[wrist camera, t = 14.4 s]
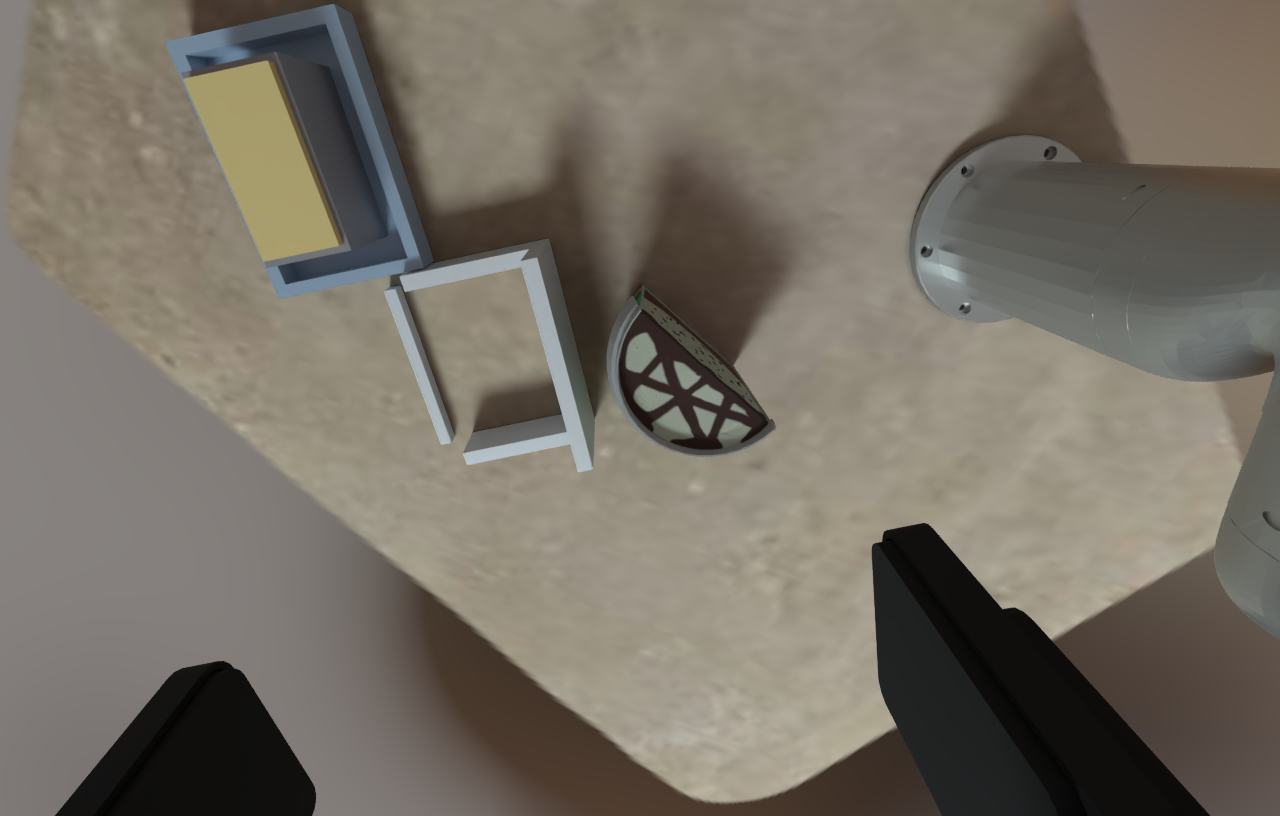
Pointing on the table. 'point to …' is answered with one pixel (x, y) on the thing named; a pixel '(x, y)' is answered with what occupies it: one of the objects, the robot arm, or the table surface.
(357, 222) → the yellow-topped block
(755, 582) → the table surface
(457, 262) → the bay
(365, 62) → the tray
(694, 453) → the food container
